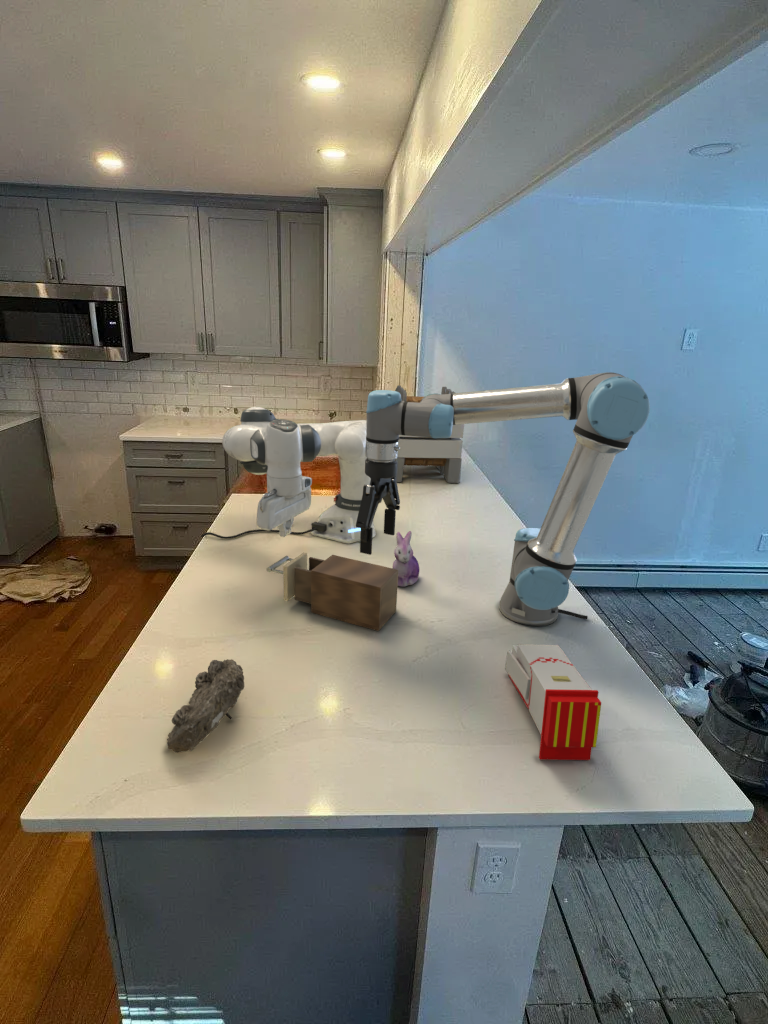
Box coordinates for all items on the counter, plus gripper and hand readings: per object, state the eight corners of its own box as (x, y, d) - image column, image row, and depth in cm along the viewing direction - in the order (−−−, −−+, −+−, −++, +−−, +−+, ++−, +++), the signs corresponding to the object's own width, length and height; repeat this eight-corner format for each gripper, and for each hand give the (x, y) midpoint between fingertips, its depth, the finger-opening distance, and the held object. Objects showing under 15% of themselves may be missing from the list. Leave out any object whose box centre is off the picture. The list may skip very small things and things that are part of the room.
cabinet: (311, 612, 146) (310, 570, 142) (332, 594, 156) (332, 554, 152) (378, 631, 139) (380, 587, 135) (396, 611, 149) (398, 569, 145)
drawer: (266, 595, 152) (265, 561, 148) (286, 580, 160) (286, 548, 157) (343, 616, 143) (344, 581, 140) (361, 599, 152) (362, 566, 148)
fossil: (192, 660, 117) (244, 628, 112) (224, 691, 120) (276, 661, 115) (142, 746, 98) (202, 712, 93) (182, 779, 101) (242, 748, 96)
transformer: (382, 463, 289) (386, 382, 275) (445, 464, 293) (451, 384, 279) (390, 482, 257) (394, 392, 243) (460, 483, 261) (468, 394, 247)
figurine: (399, 590, 159) (401, 541, 154) (382, 575, 168) (384, 528, 163) (427, 584, 164) (431, 536, 158) (410, 570, 172) (413, 524, 167)
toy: (554, 627, 126) (611, 698, 97) (548, 682, 129) (602, 767, 99) (500, 626, 125) (540, 697, 96) (495, 681, 128) (534, 767, 99)
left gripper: (271, 497, 134) (272, 551, 139) (315, 477, 152) (315, 525, 157) (249, 493, 137) (251, 546, 141) (295, 473, 154) (295, 521, 159)
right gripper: (373, 473, 119) (369, 565, 126) (415, 450, 141) (410, 529, 148) (341, 468, 122) (340, 558, 129) (388, 446, 143) (384, 524, 150)
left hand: (285, 535), depth 149 cm, fingers closed
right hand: (377, 543), depth 138 cm, fingers open, 13 cm apart
